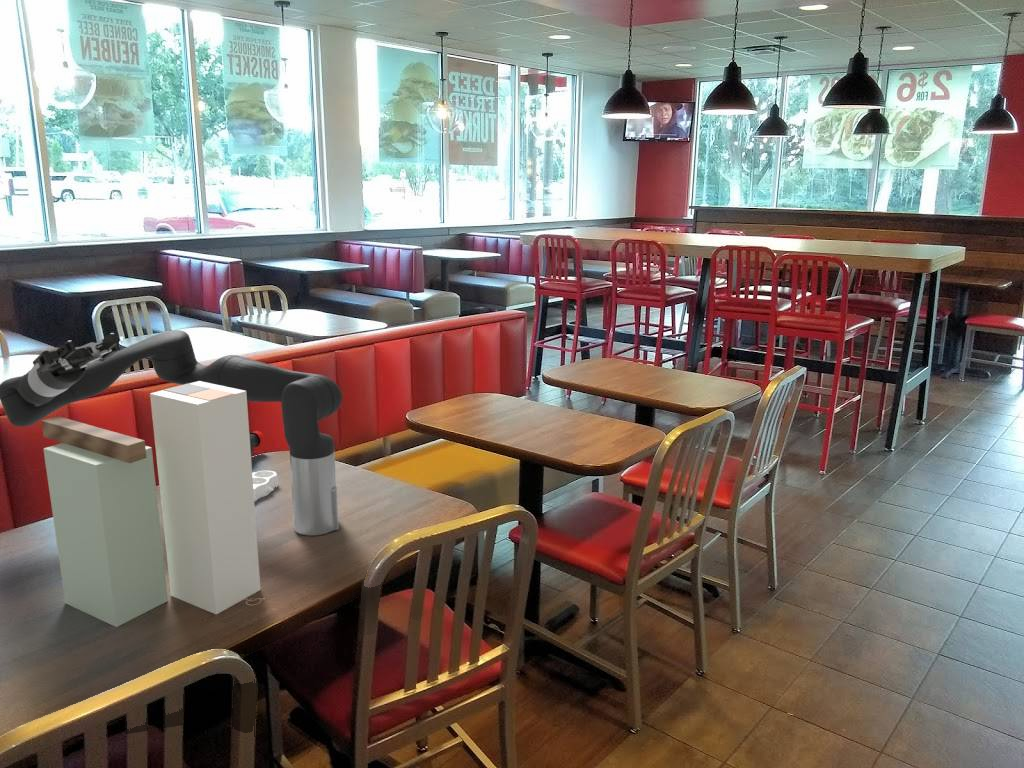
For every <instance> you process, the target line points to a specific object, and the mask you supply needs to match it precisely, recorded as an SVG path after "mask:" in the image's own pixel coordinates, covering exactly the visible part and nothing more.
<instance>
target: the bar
mask: <svg viewBox="0 0 1024 768" xmlns="http://www.w3.org/2000/svg"><path fill="white" fill-rule="evenodd" d="M41 426H42V432H43V434H42V435H43V438H46V439H50V440H53V441H55V442H56V441H57V442H60V443H65V444H69V445H72V446H75V447H78V448H82V449H85V450H88V451H91V452H95V453H98V454H101V455H104V456H108V457H111V458H114V459H117V460H121V461H124V462H127V463H133V462H136V461H139V460H142V459H145V458H147V457H146V448H145V446H146V441H145V440H144V439H141V438H138V437H133V436H131V435H130V436H129V435H126V434H123V433H119V432H115V431H111V430H108V429H105V428H101V427H97V426H94V425H92V424H91V425H90V424H88V423H84V422H80V421H77V420H73V419H69V418H66V417H63V416H59V415H58V416H54V417H49V418H46V419H41Z"/></svg>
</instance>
